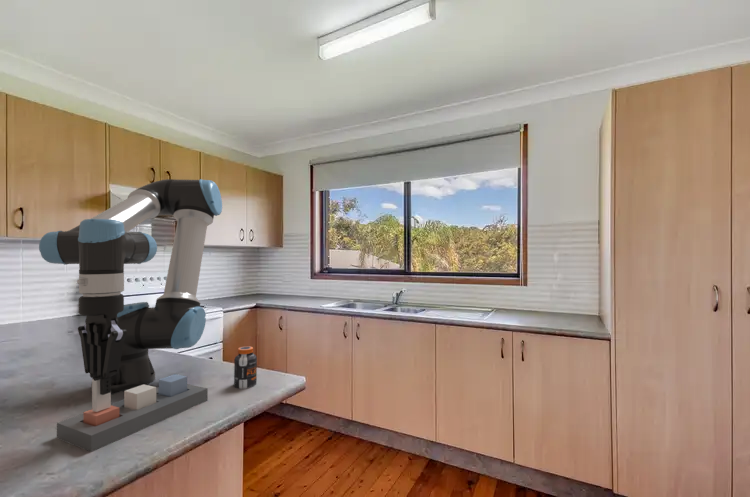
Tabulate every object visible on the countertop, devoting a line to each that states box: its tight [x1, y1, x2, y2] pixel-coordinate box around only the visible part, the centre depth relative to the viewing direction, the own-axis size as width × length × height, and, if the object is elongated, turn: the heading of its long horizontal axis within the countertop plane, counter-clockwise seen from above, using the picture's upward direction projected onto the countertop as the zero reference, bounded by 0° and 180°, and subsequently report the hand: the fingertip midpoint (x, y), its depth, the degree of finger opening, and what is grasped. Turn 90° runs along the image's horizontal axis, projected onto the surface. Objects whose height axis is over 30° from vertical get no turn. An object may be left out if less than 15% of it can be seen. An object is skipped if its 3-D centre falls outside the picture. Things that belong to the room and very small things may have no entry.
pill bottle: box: [233, 345, 258, 390], centre depth 104 cm, size 6×6×11 cm
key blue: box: [158, 373, 188, 397], centre depth 91 cm, size 4×4×4 cm
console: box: [56, 383, 209, 453], centre depth 83 cm, size 12×26×4 cm, turn 155°
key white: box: [123, 384, 157, 411], centre depth 83 cm, size 4×4×4 cm
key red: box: [82, 405, 119, 427], centre depth 76 cm, size 4×4×4 cm
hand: (101, 408), depth 76 cm, fingers closed
